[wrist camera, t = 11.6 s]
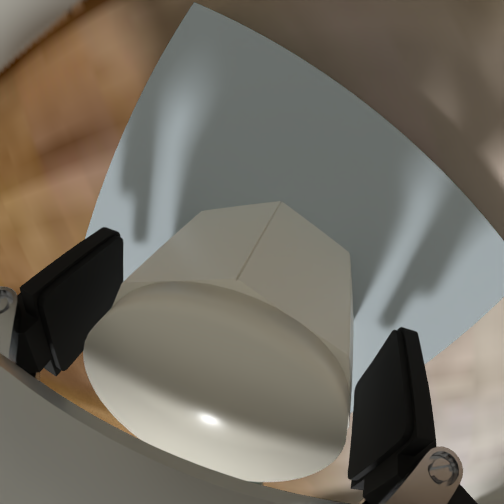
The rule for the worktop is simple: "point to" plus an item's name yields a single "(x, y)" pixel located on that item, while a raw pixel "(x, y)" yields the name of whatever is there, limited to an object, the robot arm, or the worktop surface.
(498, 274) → the stud plate
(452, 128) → the worktop surface
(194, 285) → the cap
